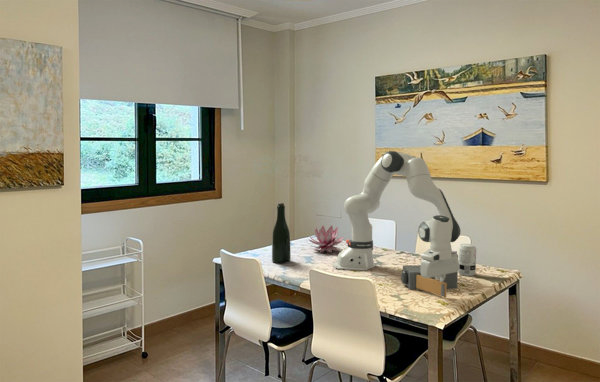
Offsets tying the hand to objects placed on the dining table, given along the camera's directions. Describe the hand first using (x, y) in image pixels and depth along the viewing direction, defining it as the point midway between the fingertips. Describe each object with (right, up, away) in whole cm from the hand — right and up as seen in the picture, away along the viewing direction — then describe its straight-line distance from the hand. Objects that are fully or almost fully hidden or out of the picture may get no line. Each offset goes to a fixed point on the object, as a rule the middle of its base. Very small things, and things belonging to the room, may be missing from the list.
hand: (439, 284), depth 212 cm
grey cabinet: (0, -3, +16) cm, 16 cm away
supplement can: (+23, -2, +34) cm, 42 cm away
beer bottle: (-72, +1, +61) cm, 94 cm away
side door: (-4, -4, +2) cm, 6 cm away
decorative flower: (-45, +4, +86) cm, 97 cm away
